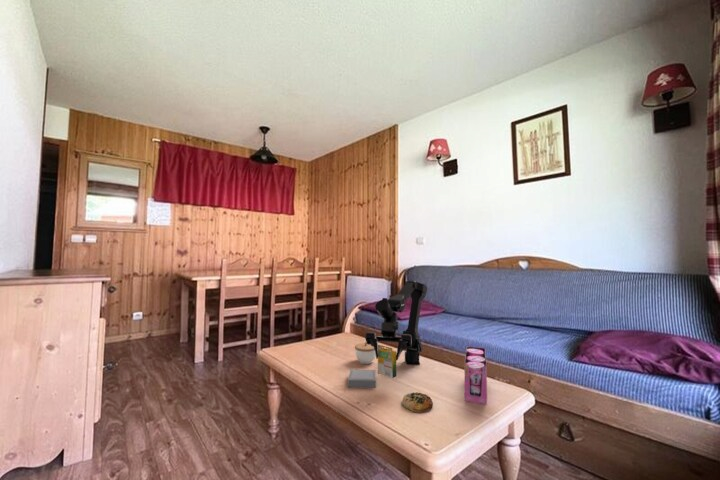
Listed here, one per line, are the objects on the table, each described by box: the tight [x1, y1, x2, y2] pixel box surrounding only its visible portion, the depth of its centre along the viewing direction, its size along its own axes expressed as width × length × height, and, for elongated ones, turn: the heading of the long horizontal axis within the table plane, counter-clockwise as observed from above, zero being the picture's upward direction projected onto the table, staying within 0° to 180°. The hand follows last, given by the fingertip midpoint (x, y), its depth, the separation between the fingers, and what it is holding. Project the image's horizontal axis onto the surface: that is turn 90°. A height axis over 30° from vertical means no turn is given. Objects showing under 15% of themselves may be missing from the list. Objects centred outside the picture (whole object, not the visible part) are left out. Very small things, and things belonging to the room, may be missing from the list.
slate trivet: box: [347, 369, 377, 389], centre depth 128 cm, size 11×11×3 cm
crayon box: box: [377, 344, 397, 379], centre depth 122 cm, size 7×3×12 cm, turn 48°
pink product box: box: [463, 346, 488, 405], centre depth 121 cm, size 24×8×14 cm, turn 159°
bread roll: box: [401, 391, 434, 413], centre depth 109 cm, size 11×11×5 cm
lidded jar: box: [354, 341, 376, 365], centre depth 152 cm, size 11×11×9 cm
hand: (386, 359), depth 121 cm, fingers closed on crayon box, 7 cm apart
